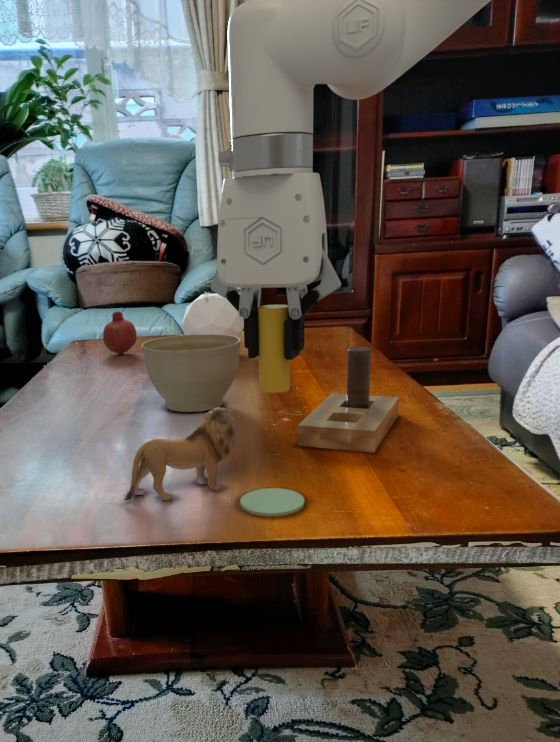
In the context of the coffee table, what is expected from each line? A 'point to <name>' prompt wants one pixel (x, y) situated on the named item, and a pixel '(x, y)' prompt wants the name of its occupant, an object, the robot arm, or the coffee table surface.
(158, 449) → the lion figurine
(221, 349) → the planter bowl
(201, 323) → the geodesic sphere
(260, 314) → the yellow peg
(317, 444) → the stand
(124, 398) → the coffee table surface
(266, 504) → the coaster
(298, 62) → the robot arm
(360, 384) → the walnut peg
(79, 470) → the coffee table surface
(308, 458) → the coffee table surface
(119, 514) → the coffee table surface
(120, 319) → the fruit
